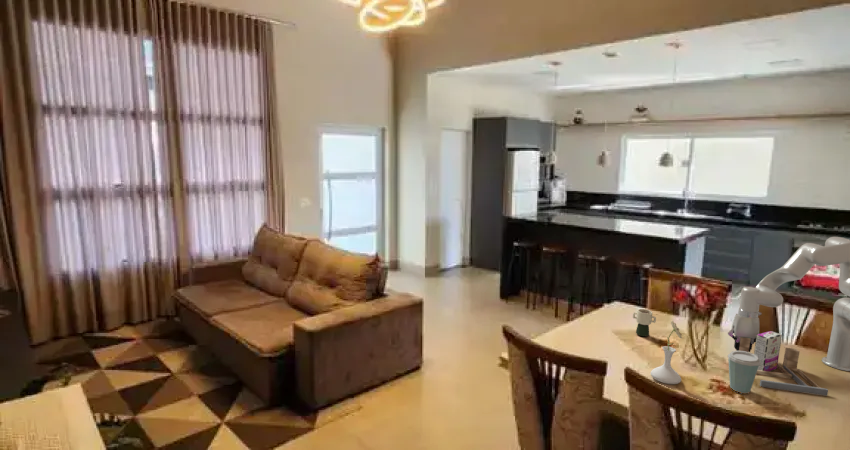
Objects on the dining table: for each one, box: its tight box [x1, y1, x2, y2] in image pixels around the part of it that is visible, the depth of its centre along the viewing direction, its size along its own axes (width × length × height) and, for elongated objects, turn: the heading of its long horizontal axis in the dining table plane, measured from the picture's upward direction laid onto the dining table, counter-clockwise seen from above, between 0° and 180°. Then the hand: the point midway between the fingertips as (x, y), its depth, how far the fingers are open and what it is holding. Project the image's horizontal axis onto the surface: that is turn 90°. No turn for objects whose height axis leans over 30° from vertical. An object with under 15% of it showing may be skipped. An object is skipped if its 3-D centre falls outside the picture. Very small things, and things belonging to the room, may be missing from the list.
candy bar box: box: [753, 330, 783, 372], centre depth 202 cm, size 11×5×16 cm, turn 116°
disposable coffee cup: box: [727, 350, 760, 394], centre depth 183 cm, size 11×11×15 cm
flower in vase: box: [650, 320, 683, 385], centre depth 189 cm, size 13×11×25 cm
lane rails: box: [759, 365, 829, 397], centre depth 194 cm, size 23×21×2 cm
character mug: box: [632, 308, 657, 337], centre depth 237 cm, size 11×7×13 cm, turn 54°
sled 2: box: [782, 347, 822, 388], centre depth 195 cm, size 5×22×9 cm, turn 165°
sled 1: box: [735, 337, 793, 380], centre depth 207 cm, size 16×22×10 cm
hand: (742, 349), depth 218 cm, fingers closed on sled 1, 4 cm apart
